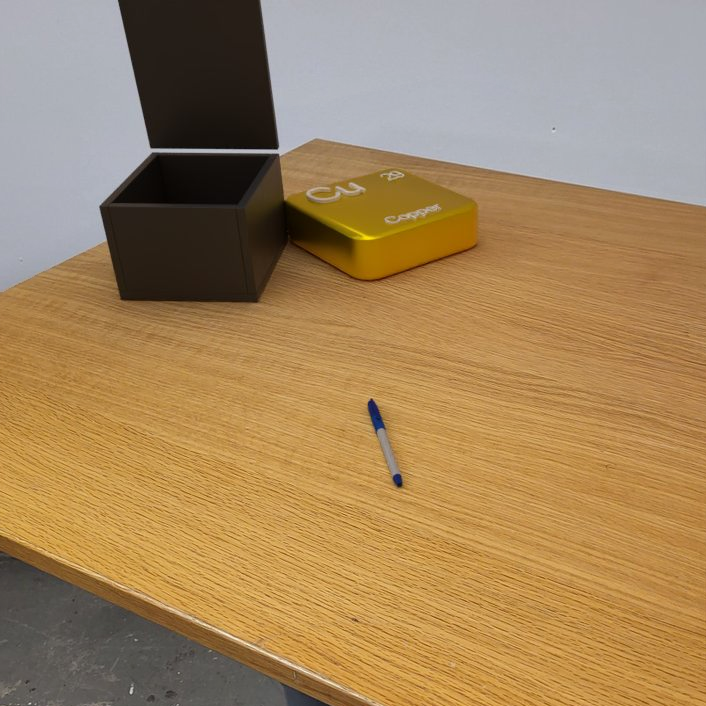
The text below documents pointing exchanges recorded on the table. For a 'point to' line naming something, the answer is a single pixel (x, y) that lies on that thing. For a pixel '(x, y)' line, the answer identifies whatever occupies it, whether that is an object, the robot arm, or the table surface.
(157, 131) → the box lid
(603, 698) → the table surface
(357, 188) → the element tile
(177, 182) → the open black box
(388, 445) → the ballpoint pen
